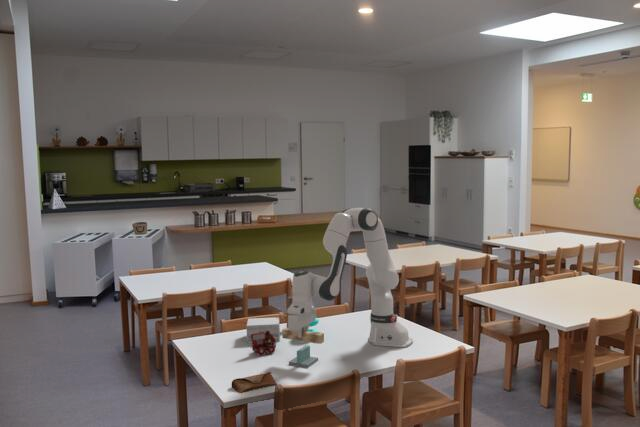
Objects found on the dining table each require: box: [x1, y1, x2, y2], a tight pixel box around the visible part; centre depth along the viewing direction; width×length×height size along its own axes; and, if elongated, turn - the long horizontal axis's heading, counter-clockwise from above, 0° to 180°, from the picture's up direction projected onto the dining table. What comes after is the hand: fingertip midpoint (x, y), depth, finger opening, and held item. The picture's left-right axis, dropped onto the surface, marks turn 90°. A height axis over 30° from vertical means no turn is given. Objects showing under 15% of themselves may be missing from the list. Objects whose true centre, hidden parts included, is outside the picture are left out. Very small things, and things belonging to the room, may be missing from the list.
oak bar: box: [281, 327, 325, 345], centre depth 263 cm, size 20×4×4 cm, turn 62°
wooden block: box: [286, 296, 304, 330], centre depth 315 cm, size 4×11×18 cm, turn 112°
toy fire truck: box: [251, 331, 277, 357], centre depth 279 cm, size 7×12×10 cm, turn 118°
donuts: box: [308, 317, 320, 332], centre depth 301 cm, size 10×10×10 cm
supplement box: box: [245, 316, 281, 343], centre depth 301 cm, size 17×13×9 cm
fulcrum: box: [288, 345, 319, 369], centre depth 264 cm, size 10×10×7 cm
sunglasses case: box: [231, 371, 278, 394], centre depth 239 cm, size 18×7×7 cm
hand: (302, 335), depth 263 cm, fingers closed on oak bar, 3 cm apart
